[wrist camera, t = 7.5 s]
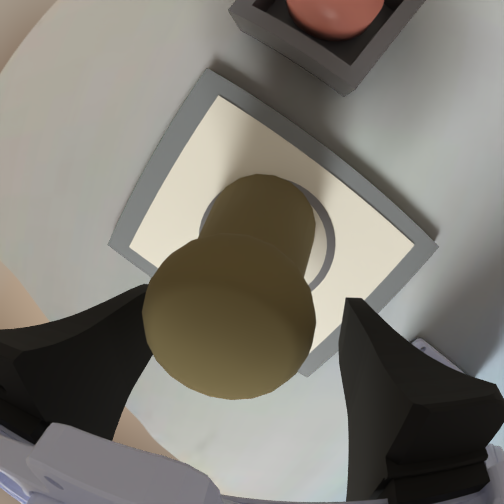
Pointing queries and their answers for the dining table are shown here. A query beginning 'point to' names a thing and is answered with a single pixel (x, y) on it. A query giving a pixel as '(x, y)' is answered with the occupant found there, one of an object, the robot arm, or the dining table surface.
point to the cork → (237, 294)
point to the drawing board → (288, 168)
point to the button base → (322, 51)
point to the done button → (334, 17)
